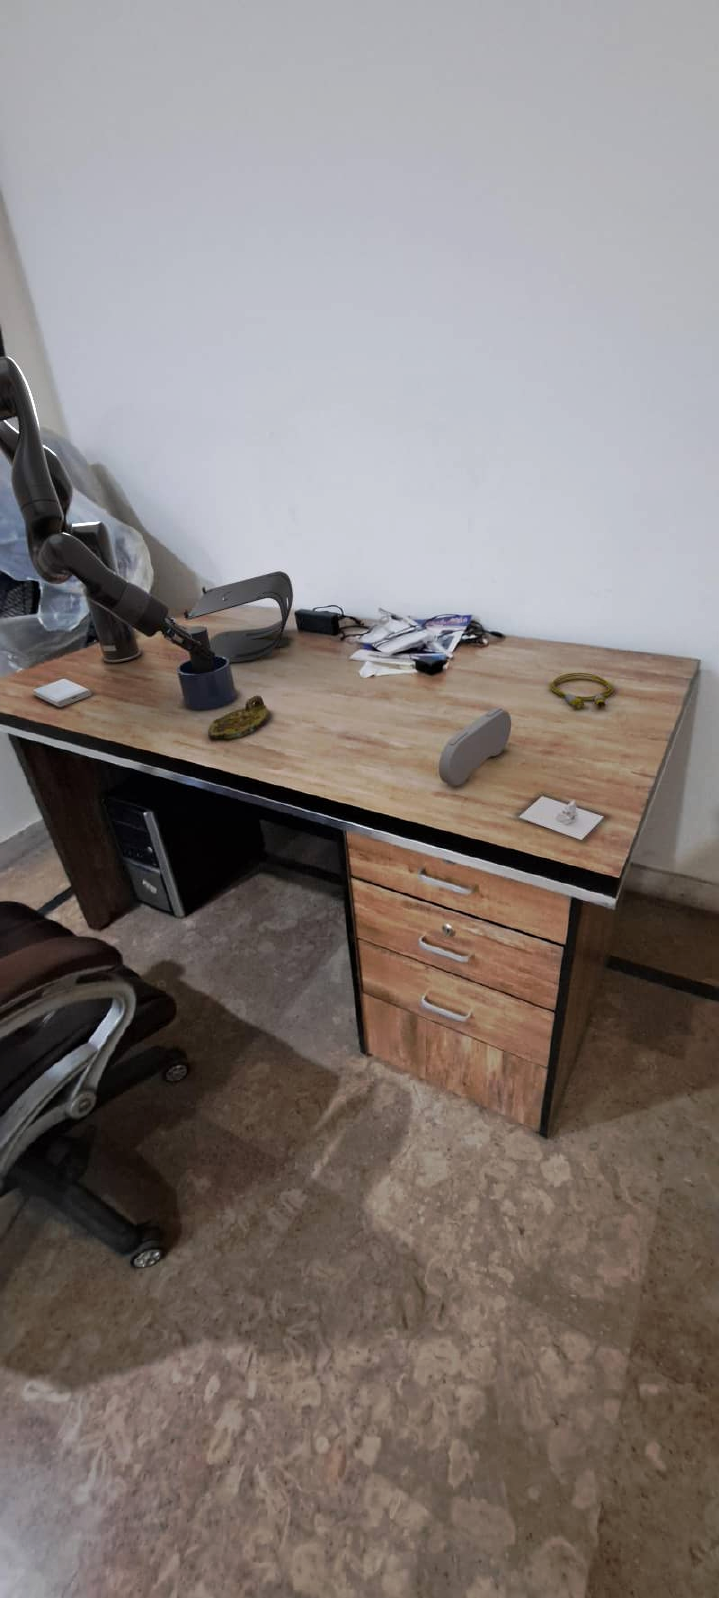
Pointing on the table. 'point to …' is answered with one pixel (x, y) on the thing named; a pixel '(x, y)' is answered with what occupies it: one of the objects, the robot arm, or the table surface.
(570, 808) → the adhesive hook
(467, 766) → the game controller
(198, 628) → the canister
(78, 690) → the hard drive
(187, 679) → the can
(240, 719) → the bronze pendant
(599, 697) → the extension cord
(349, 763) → the table surface
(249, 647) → the laptop stand
